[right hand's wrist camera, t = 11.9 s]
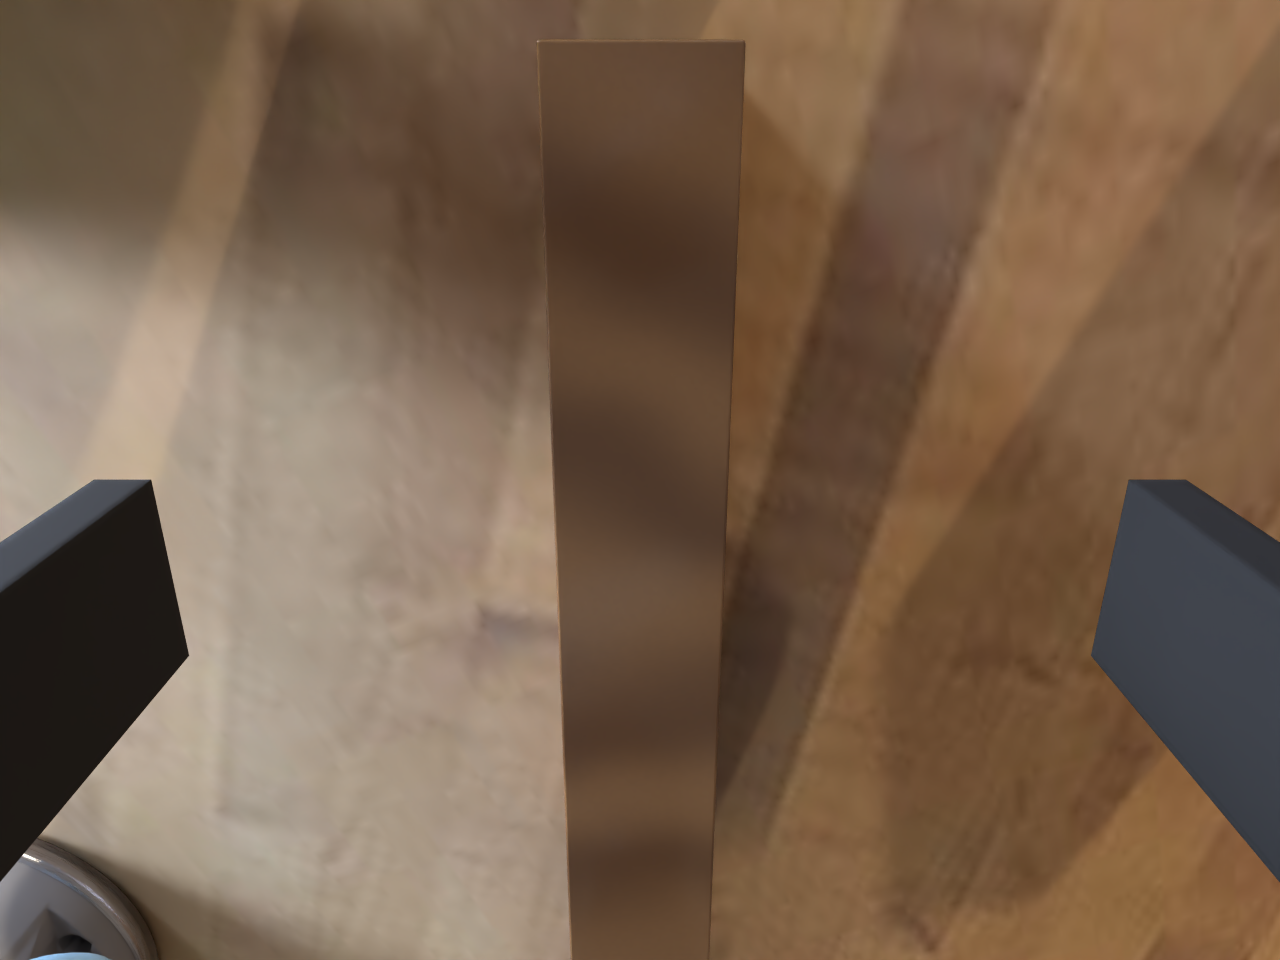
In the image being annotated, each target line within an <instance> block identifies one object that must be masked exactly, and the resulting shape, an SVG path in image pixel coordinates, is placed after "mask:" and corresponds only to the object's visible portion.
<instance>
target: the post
mask: <svg viewBox="0 0 1280 960" xmlns="http://www.w3.org/2000/svg"><path fill="white" fill-rule="evenodd" d="M745 44H746V43H745V41H744V40H568V39H540V40H538V41H537V68H538V95H539V121H540V148H541V175H542V202H543V229H544V255H545V282H546V309H547V336H548V362H549V389H550V416H551V443H552V470H553V496H554V523H555V550H556V577H557V603H558V630H559V657H560V684H561V711H562V737H563V764H564V791H565V818H566V844H567V871H568V898H569V925H570V952H571V960H709V949H710V923H711V898H712V873H713V848H714V823H715V798H716V773H717V748H718V723H719V697H720V672H721V647H722V622H723V597H724V572H725V547H726V522H727V496H728V471H729V446H730V421H731V396H732V371H733V346H734V321H735V296H736V270H737V245H738V220H739V195H740V170H741V145H742V120H743V95H744V70H745Z"/></svg>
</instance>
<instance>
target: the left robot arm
mask: <svg viewBox="0 0 1280 960" xmlns="http://www.w3.org/2000/svg"><path fill="white" fill-rule="evenodd" d="M0 960H158V954H157V950H156V946H155V943H154V940H153V937H152V935H151V933H150V931H149V928H148V927H147V925H146V923H145V921H144V920H143V918H142V916H141V915H140V913H139V912H138V911H137V909H136V908H135V906H134V905H133V904H132V903H131V901H130V900H129V899H128V898H127V897H126V896H125V895H124V893H123V892H122V891H121V890H119V889H118V888H117V887H116V886H115V885H114V884H113V883H112V882H111V881H110V880H109V879H107V878H106V877H105V876H104V875H103V874H101V873H100V872H99V871H97V870H96V869H94V868H93V867H92V866H90V865H89V864H87V863H86V862H84V861H83V860H81V859H79V858H78V857H76V856H74V855H73V854H71V853H69V852H67V851H65V850H63V849H61V848H59V847H57V846H55V845H52V844H50V843H48V842H45V841H43V840H41V839H38V838H37V839H36V840H35V841H34V842H33V843H32V845H31V846H30V847H29V848H28V849H27V851H26V852H25V853H24V854H23V855H22V857H21V858H20V859H19V860H18V861H17V863H16V864H15V865H14V866H13V867H12V869H11V870H10V871H9V872H8V874H7V875H6V876H5V877H4V878H3V880H2V881H1V882H0Z"/></svg>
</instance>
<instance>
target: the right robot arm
mask: <svg viewBox="0 0 1280 960" xmlns="http://www.w3.org/2000/svg"><path fill="white" fill-rule="evenodd" d="M188 656H189V653H188V649H187V644H186V639H185V635H184V630H183V625H182V621H181V616H180V612H179V607H178V602H177V598H176V593H175V588H174V584H173V579H172V574H171V570H170V565H169V560H168V556H167V551H166V547H165V542H164V537H163V533H162V528H161V523H160V519H159V514H158V509H157V505H156V500H155V495H154V491H153V486H152V482H151V480H93V481H91V482H90V483H88V484H87V485H85V486H84V487H83V488H81V489H80V490H78V491H77V492H75V493H74V494H72V495H71V496H69V497H68V498H66V499H65V500H63V501H62V502H60V503H59V504H57V505H56V506H54V507H53V508H51V509H50V510H48V511H47V512H45V513H44V514H42V515H41V516H39V517H38V518H36V519H35V520H33V521H32V522H30V523H29V524H27V525H26V526H24V527H23V528H21V529H20V530H18V531H17V532H15V533H14V534H12V535H11V536H9V537H8V538H6V539H5V540H3V541H2V542H0V882H1V881H2V880H3V878H4V877H5V876H6V875H7V874H8V872H9V871H10V870H11V869H12V867H13V866H14V865H15V864H16V863H17V861H18V860H19V859H20V858H21V857H22V855H23V854H24V853H25V852H26V851H27V849H28V848H29V847H30V846H31V845H32V843H33V842H34V841H35V840H36V839H37V837H38V836H39V835H40V834H41V833H42V831H43V830H44V829H45V828H46V827H47V825H48V824H49V823H50V822H51V821H52V819H53V818H54V817H55V816H56V815H57V813H58V812H59V811H60V810H61V809H62V807H63V806H64V805H65V804H66V803H67V801H68V800H69V799H70V798H71V797H72V795H73V794H74V793H75V792H76V791H77V789H78V788H79V787H80V786H81V785H82V783H83V782H84V781H85V780H86V779H87V777H88V776H89V775H90V774H91V773H92V771H93V770H94V769H95V768H96V767H97V765H98V764H99V763H100V762H101V761H102V759H103V758H104V757H105V756H106V755H107V753H108V752H109V751H110V750H111V749H112V747H113V746H114V745H115V744H116V743H117V741H118V740H119V739H120V738H121V737H122V735H123V734H124V733H125V732H126V731H127V729H128V728H129V727H130V726H131V725H132V723H133V722H134V721H135V720H136V719H137V717H138V716H139V715H140V714H141V713H142V711H143V710H144V709H145V708H146V707H147V705H148V704H149V703H150V702H151V701H152V699H153V698H154V697H155V696H156V695H157V693H158V692H159V691H160V690H161V689H162V687H163V686H164V685H165V684H166V683H167V681H168V680H169V679H170V678H171V677H172V675H173V674H174V673H175V672H176V671H177V669H178V668H179V667H180V666H181V665H182V663H183V662H184V661H185V660H186V659H187V657H188ZM1091 656H1092V657H1093V659H1094V660H1095V661H1096V662H1097V663H1098V665H1099V666H1100V667H1101V668H1102V669H1103V671H1104V672H1105V673H1106V674H1107V675H1108V677H1109V678H1110V679H1111V680H1112V681H1113V683H1114V684H1115V685H1116V686H1117V687H1118V689H1119V690H1120V691H1121V692H1122V693H1123V695H1124V696H1125V697H1126V698H1127V699H1128V701H1129V702H1130V703H1131V704H1132V705H1133V707H1134V708H1135V709H1136V710H1137V711H1138V713H1139V714H1140V715H1141V716H1142V717H1143V719H1144V720H1145V721H1146V722H1147V723H1148V725H1149V726H1150V727H1151V728H1152V729H1153V731H1154V732H1155V733H1156V734H1157V735H1158V737H1159V738H1160V739H1161V740H1162V741H1163V743H1164V744H1165V745H1166V746H1167V747H1168V749H1169V750H1170V751H1171V752H1172V753H1173V755H1174V756H1175V757H1176V758H1177V759H1178V761H1179V762H1180V763H1181V764H1182V765H1183V767H1184V768H1185V769H1186V770H1187V771H1188V773H1189V774H1190V775H1191V776H1192V777H1193V779H1194V780H1195V781H1196V782H1197V783H1198V785H1199V786H1200V787H1201V788H1202V789H1203V791H1204V792H1205V793H1206V794H1207V795H1208V797H1209V798H1210V799H1211V800H1212V801H1213V803H1214V804H1215V805H1216V806H1217V807H1218V809H1219V810H1220V811H1221V812H1222V813H1223V815H1224V816H1225V817H1226V818H1227V819H1228V821H1229V822H1230V823H1231V824H1232V825H1233V827H1234V828H1235V829H1236V830H1237V831H1238V833H1239V834H1240V835H1241V836H1242V837H1243V839H1244V840H1245V841H1246V842H1247V843H1248V845H1249V846H1250V847H1251V848H1252V849H1253V851H1254V852H1255V853H1256V854H1257V855H1258V857H1259V858H1260V859H1261V860H1262V861H1263V863H1264V864H1265V865H1266V866H1267V868H1268V869H1269V870H1270V871H1271V872H1272V874H1273V875H1274V876H1275V877H1276V878H1277V880H1278V881H1279V882H1280V542H1278V541H1277V540H1275V539H1274V538H1272V537H1271V536H1269V535H1268V534H1266V533H1265V532H1263V531H1262V530H1260V529H1259V528H1257V527H1256V526H1254V525H1253V524H1251V523H1250V522H1248V521H1247V520H1245V519H1244V518H1242V517H1241V516H1239V515H1238V514H1236V513H1235V512H1233V511H1232V510H1230V509H1229V508H1227V507H1226V506H1224V505H1223V504H1221V503H1220V502H1218V501H1217V500H1215V499H1214V498H1212V497H1211V496H1209V495H1208V494H1206V493H1205V492H1203V491H1202V490H1200V489H1199V488H1197V487H1196V486H1195V485H1193V484H1192V483H1190V482H1189V481H1187V480H1129V482H1128V486H1127V491H1126V495H1125V500H1124V505H1123V509H1122V514H1121V519H1120V523H1119V528H1118V533H1117V537H1116V542H1115V547H1114V551H1113V556H1112V560H1111V565H1110V570H1109V574H1108V579H1107V584H1106V588H1105V593H1104V598H1103V602H1102V607H1101V612H1100V616H1099V621H1098V625H1097V630H1096V635H1095V639H1094V644H1093V649H1092V653H1091Z"/></svg>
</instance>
